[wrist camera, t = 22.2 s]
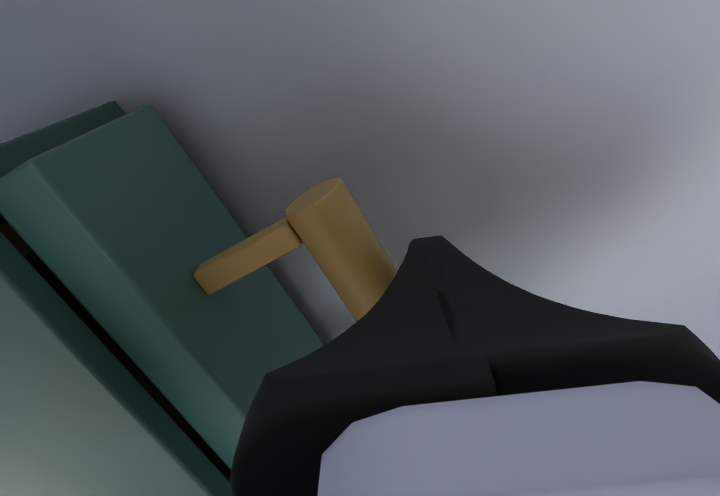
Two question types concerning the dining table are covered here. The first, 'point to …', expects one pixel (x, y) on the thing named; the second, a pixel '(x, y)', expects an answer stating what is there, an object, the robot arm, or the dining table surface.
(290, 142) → the dining table surface
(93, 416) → the cabinet
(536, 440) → the robot arm
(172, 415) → the drawer
